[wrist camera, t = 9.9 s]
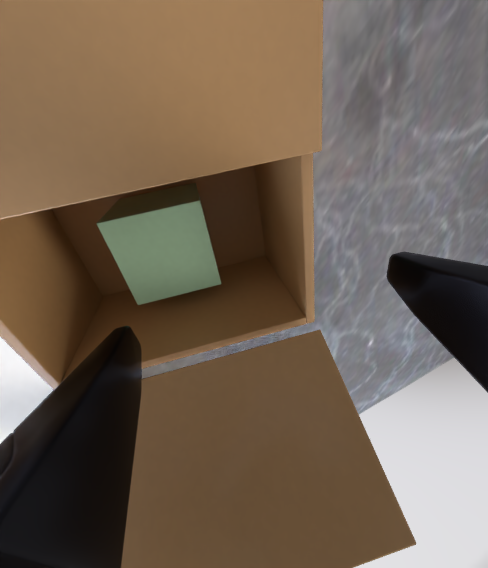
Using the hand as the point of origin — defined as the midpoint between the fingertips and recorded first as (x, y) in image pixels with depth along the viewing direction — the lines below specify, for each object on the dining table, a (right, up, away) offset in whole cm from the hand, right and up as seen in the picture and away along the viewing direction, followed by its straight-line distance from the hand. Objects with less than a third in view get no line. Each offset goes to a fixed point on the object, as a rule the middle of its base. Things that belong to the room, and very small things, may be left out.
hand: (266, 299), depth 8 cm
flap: (-2, -7, +2) cm, 8 cm away
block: (-6, +4, +9) cm, 12 cm away
